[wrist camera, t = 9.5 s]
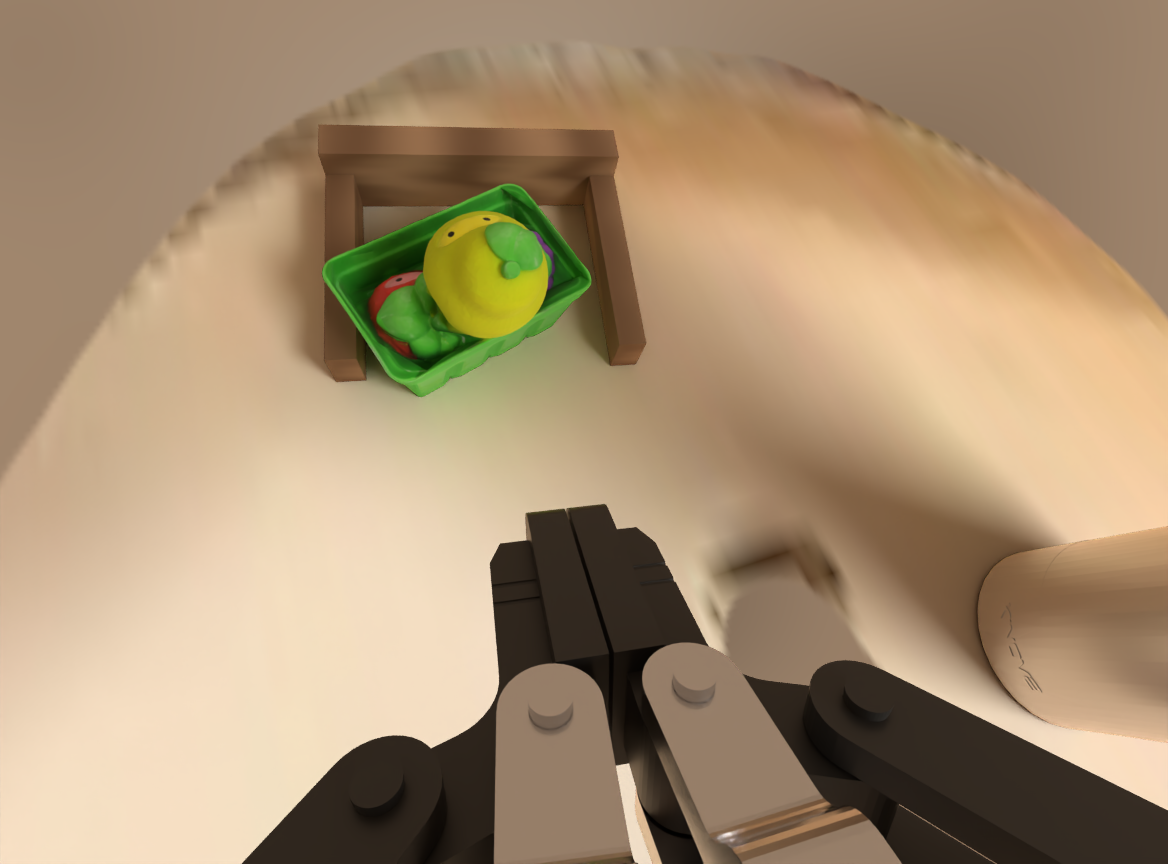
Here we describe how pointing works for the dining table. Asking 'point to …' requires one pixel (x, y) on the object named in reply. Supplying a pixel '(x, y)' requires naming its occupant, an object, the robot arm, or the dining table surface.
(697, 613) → the dining table surface
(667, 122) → the dining table surface
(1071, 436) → the dining table surface
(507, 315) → the fruit basket
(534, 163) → the frame
